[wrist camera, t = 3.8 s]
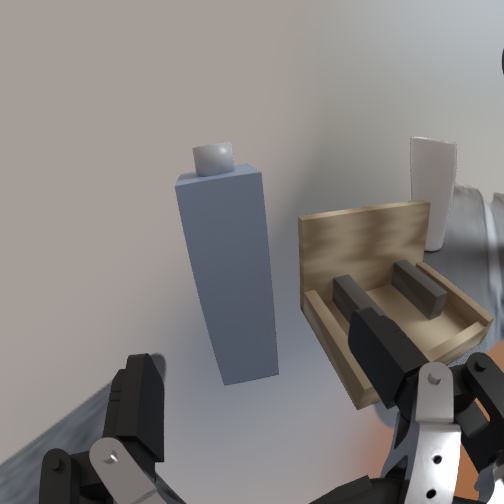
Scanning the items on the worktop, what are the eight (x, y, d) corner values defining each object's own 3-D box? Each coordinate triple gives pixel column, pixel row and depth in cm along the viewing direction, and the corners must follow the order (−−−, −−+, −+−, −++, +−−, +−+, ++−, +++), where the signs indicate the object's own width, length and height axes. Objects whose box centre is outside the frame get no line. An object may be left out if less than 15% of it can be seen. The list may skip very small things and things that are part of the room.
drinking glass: (419, 232, 37) (424, 137, 30) (453, 246, 31) (463, 143, 25) (396, 242, 35) (400, 135, 28) (433, 260, 29) (444, 142, 22)
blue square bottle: (266, 339, 22) (244, 139, 15) (278, 374, 18) (257, 140, 12) (219, 348, 21) (176, 149, 15) (224, 385, 18) (169, 154, 11)
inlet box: (413, 276, 27) (424, 199, 23) (484, 339, 16) (518, 247, 12) (300, 308, 25) (297, 216, 21) (357, 410, 14) (388, 302, 10)
